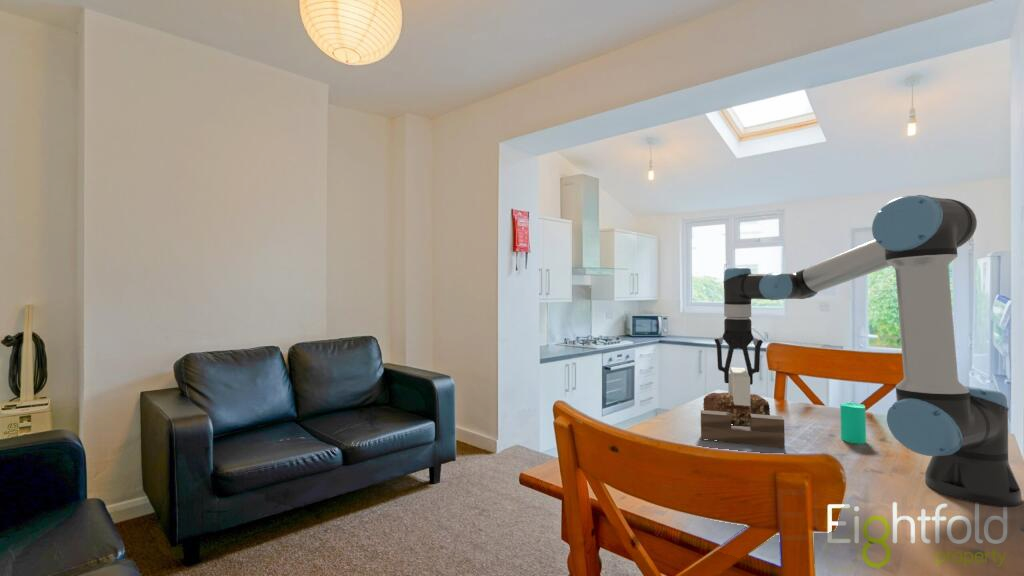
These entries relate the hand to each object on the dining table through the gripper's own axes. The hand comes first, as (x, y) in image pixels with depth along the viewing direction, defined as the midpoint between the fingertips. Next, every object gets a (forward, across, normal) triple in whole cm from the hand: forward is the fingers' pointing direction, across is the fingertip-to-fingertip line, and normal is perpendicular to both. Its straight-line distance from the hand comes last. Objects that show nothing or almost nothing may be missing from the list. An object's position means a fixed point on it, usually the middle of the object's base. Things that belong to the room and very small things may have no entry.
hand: (738, 394), depth 144 cm
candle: (+13, -31, -7) cm, 34 cm away
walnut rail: (+13, 0, +5) cm, 14 cm away
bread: (+13, 0, -17) cm, 22 cm away
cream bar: (0, 0, +5) cm, 5 cm away
